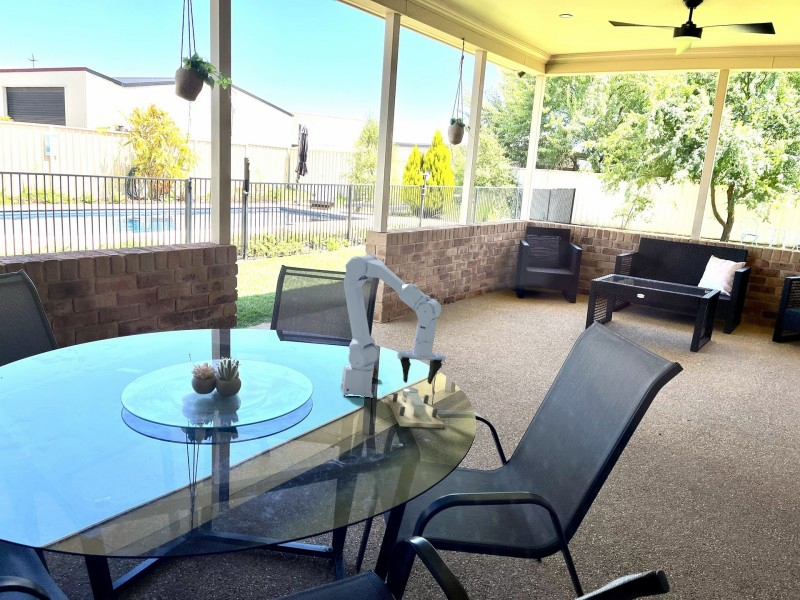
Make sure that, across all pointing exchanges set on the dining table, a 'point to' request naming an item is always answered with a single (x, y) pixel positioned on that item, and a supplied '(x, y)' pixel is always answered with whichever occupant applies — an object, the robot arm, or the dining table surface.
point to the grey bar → (413, 401)
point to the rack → (408, 419)
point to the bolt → (374, 372)
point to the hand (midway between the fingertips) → (417, 382)
